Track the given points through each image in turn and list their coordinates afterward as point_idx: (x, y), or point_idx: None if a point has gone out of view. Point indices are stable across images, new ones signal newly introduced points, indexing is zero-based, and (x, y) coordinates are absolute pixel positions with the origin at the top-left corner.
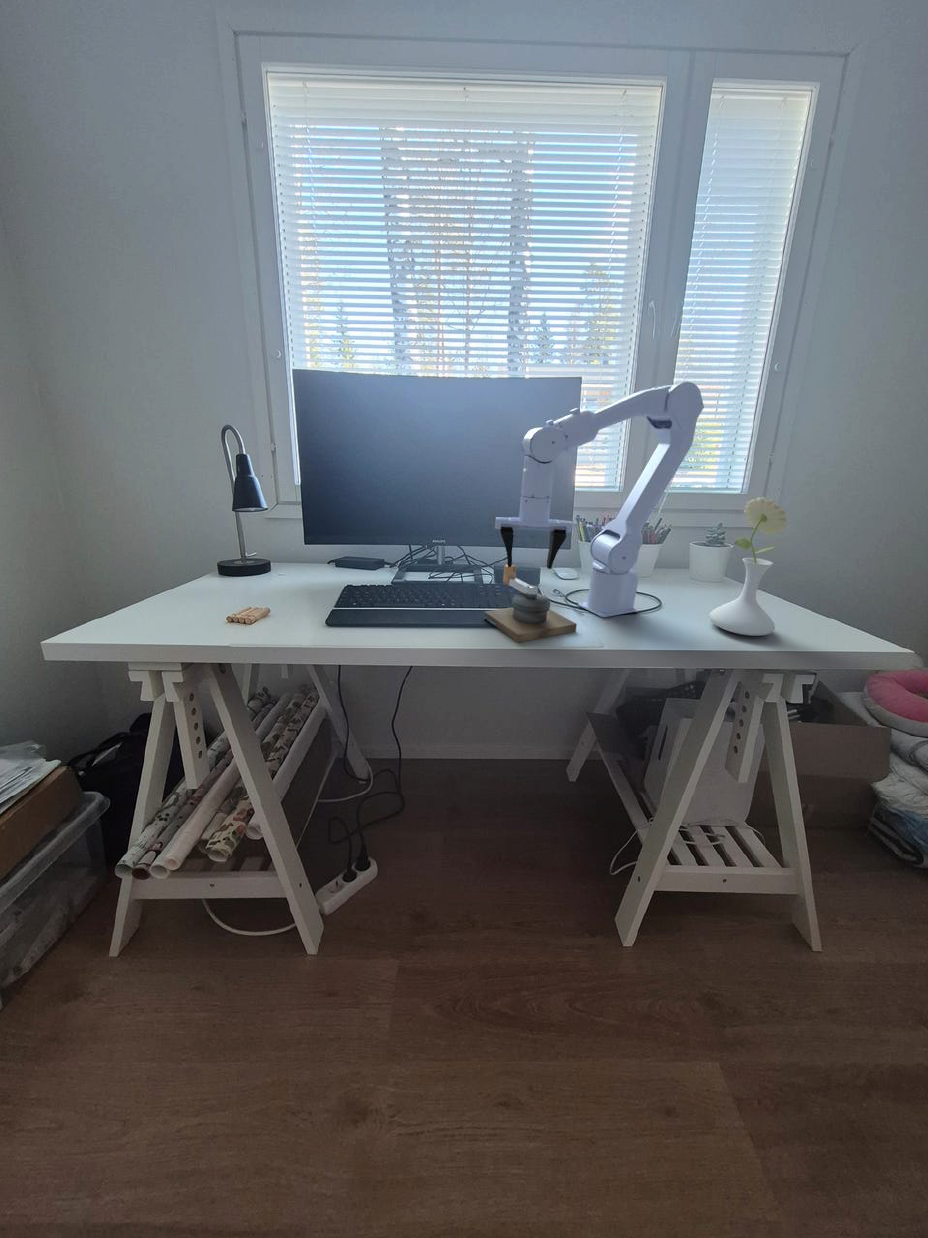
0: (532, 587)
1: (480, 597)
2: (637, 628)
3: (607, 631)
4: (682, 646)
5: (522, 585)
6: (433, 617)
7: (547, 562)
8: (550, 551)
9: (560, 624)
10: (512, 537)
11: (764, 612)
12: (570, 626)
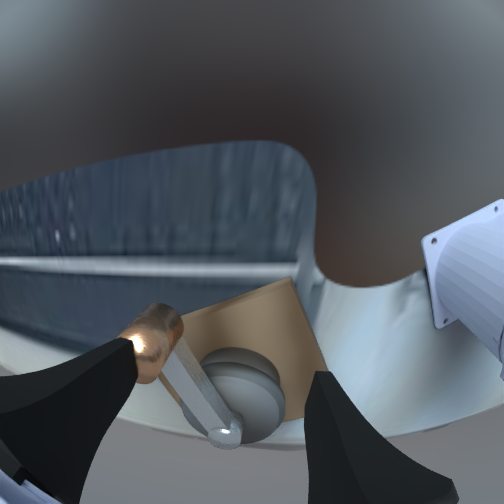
0: (223, 442)
1: (129, 169)
2: (460, 365)
3: (401, 387)
4: (464, 411)
5: (196, 416)
6: (58, 309)
7: (314, 396)
8: (317, 464)
9: (301, 410)
10: (77, 493)
11: None
12: None
